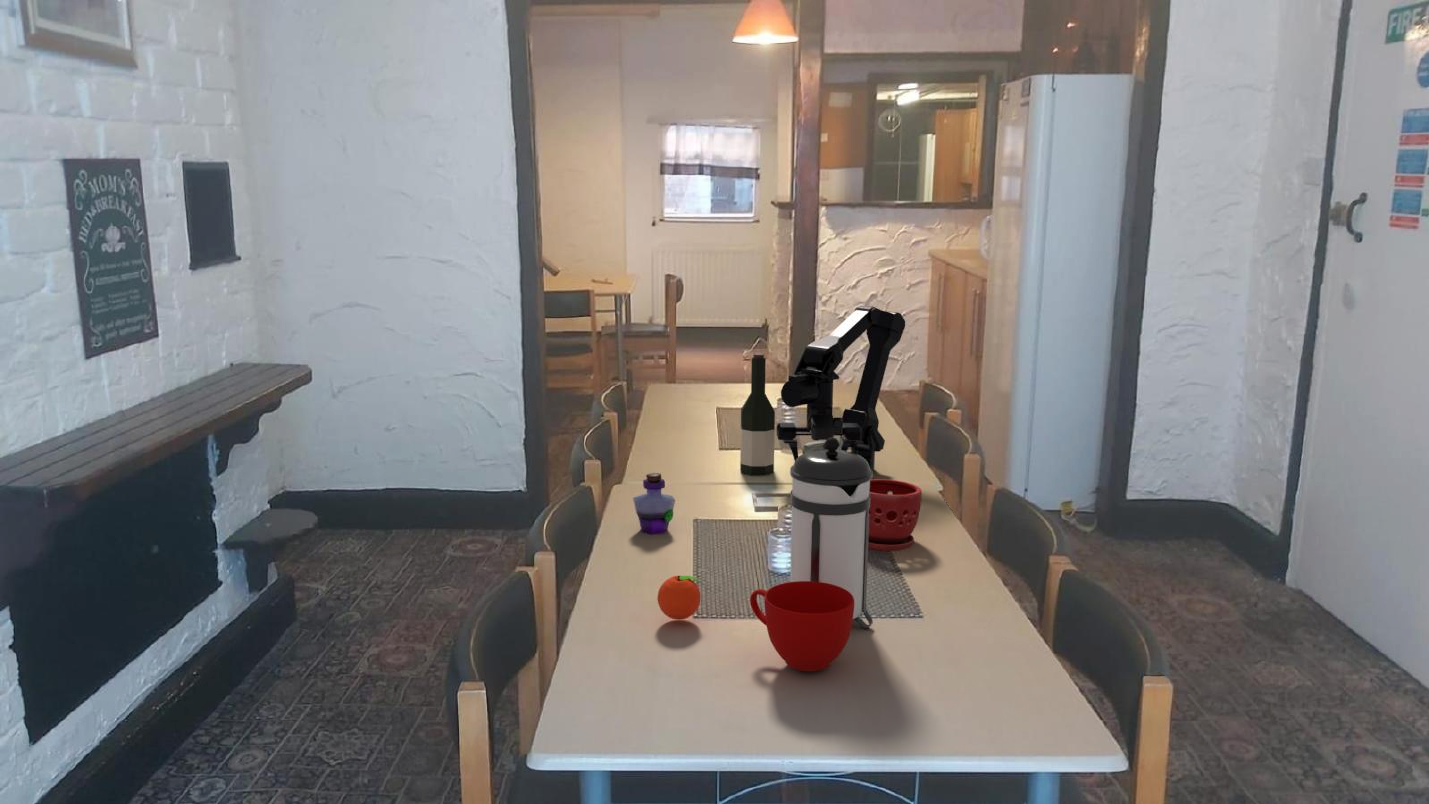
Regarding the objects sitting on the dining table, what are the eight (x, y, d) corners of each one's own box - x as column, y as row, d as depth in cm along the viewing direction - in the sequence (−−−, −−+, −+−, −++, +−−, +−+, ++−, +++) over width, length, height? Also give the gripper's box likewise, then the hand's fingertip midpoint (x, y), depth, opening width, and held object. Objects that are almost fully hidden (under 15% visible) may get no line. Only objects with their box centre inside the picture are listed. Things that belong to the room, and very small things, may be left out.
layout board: (750, 500, 239) (750, 492, 238) (899, 501, 239) (899, 492, 239) (753, 517, 227) (753, 507, 226) (909, 517, 228) (910, 508, 227)
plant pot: (913, 560, 202) (916, 498, 199) (844, 551, 206) (846, 491, 203) (923, 538, 214) (926, 480, 211) (858, 531, 218) (859, 474, 216)
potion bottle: (670, 540, 212) (671, 480, 209) (628, 537, 213) (627, 478, 211) (679, 526, 220) (679, 469, 218) (637, 524, 221) (637, 467, 219)
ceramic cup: (776, 629, 169) (777, 568, 167) (869, 659, 159) (871, 595, 157) (724, 656, 160) (724, 592, 158) (819, 690, 149) (821, 621, 147)
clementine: (697, 606, 178) (698, 565, 177) (713, 622, 172) (713, 579, 171) (651, 613, 176) (651, 571, 174) (665, 629, 169) (665, 586, 168)
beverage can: (832, 498, 241) (833, 445, 239) (799, 496, 243) (800, 444, 240) (834, 490, 247) (836, 439, 245) (802, 488, 249) (804, 437, 246)
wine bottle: (733, 476, 258) (734, 352, 252) (764, 473, 262) (766, 350, 256) (749, 485, 251) (750, 357, 245) (780, 481, 254) (783, 355, 249)
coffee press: (890, 611, 177) (897, 432, 171) (851, 646, 163) (857, 453, 158) (795, 591, 186) (799, 420, 180) (750, 622, 172) (753, 438, 166)
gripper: (780, 408, 233) (779, 478, 236) (867, 408, 233) (864, 478, 236) (777, 398, 244) (775, 465, 247) (859, 398, 244) (857, 465, 247)
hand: (818, 468), depth 244 cm, fingers open, 9 cm apart
